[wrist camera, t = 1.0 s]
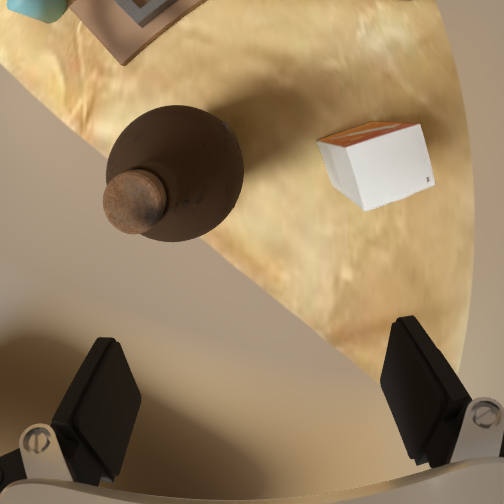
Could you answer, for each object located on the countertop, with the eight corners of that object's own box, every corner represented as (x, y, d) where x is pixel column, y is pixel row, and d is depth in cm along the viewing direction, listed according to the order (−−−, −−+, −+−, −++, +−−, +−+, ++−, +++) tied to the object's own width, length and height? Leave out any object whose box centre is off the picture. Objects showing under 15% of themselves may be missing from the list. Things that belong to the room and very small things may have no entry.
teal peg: (58, -8, 27) (26, -26, 19) (71, 5, 28) (38, -12, 20) (37, 14, 28) (2, 1, 20) (49, 28, 29) (13, 16, 21)
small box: (371, 120, 36) (422, 121, 24) (385, 166, 38) (437, 186, 26) (313, 139, 37) (344, 146, 25) (330, 186, 39) (365, 214, 27)
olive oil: (169, 204, 40) (80, 309, 17) (152, 124, 36) (26, 133, 13) (251, 189, 40) (257, 285, 16) (236, 105, 36) (217, 69, 12)
